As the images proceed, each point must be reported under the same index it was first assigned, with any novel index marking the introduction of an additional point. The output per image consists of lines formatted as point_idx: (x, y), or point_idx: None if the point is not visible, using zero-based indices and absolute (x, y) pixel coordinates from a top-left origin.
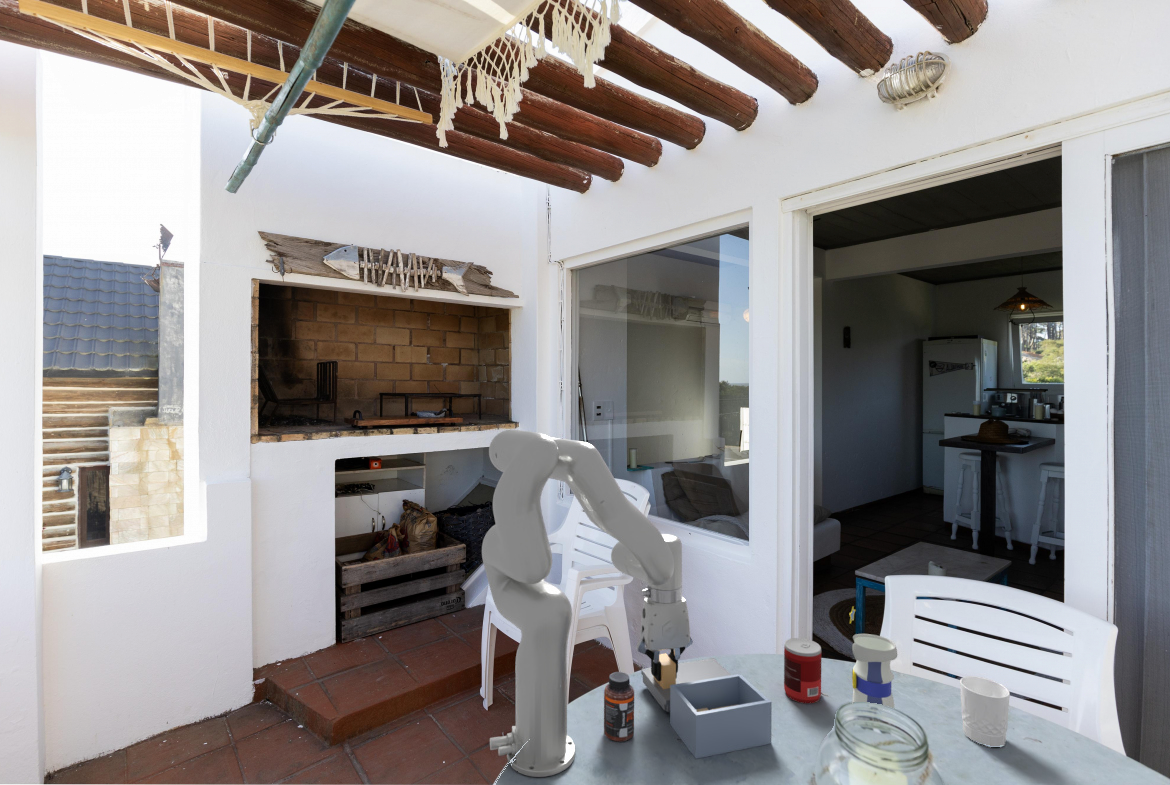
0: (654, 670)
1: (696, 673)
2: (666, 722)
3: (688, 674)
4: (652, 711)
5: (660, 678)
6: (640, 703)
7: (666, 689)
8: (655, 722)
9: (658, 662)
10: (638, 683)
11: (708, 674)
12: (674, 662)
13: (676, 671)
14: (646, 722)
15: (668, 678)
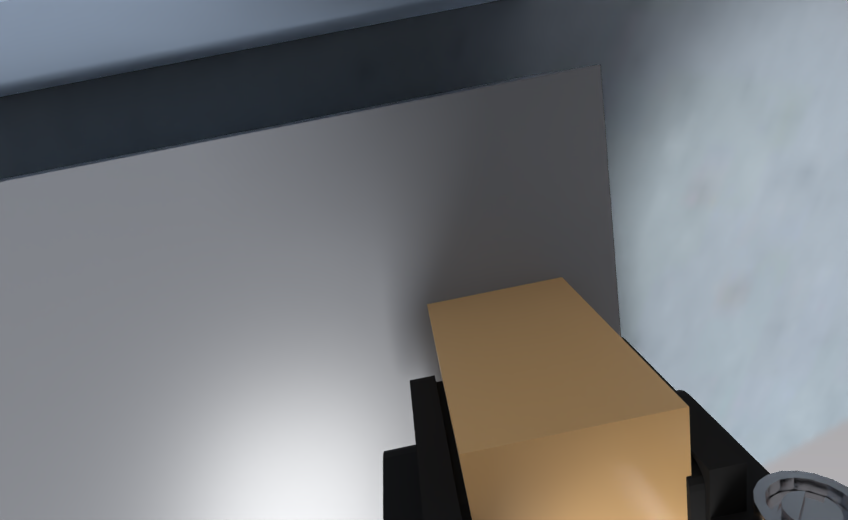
0: (709, 422)
1: (169, 510)
2: (552, 28)
3: (251, 498)
4: (610, 186)
5: None
6: (659, 290)
7: (529, 270)
8: (635, 38)
9: (735, 489)
10: None
11: (51, 492)
12: (458, 505)
13: (416, 421)
14: (701, 46)
15: (530, 329)
